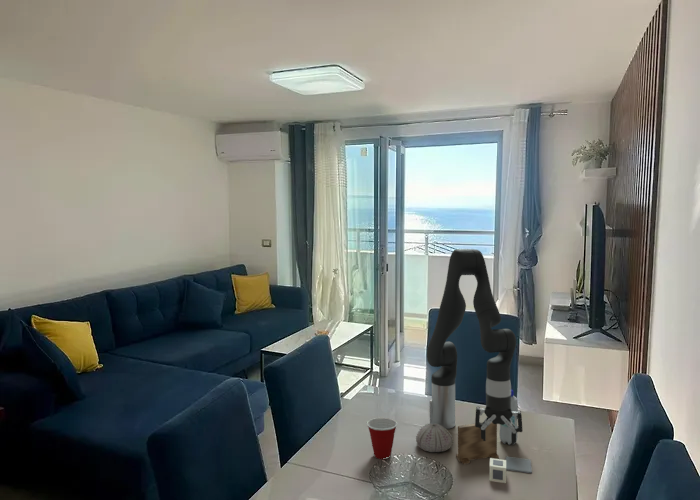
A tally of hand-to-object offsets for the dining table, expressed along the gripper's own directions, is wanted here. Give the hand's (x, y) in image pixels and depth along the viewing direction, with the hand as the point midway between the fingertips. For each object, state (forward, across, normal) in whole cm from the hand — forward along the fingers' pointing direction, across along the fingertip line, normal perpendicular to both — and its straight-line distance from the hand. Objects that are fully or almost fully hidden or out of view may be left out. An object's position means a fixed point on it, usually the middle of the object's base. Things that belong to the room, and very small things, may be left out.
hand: (498, 441), depth 151 cm
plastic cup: (+12, -39, +4) cm, 41 cm away
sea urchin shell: (+12, -22, +15) cm, 30 cm away
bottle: (+12, +3, +25) cm, 28 cm away
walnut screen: (+12, -7, +11) cm, 18 cm away
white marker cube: (+12, 0, 0) cm, 12 cm away
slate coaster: (+12, +6, +10) cm, 16 cm away
